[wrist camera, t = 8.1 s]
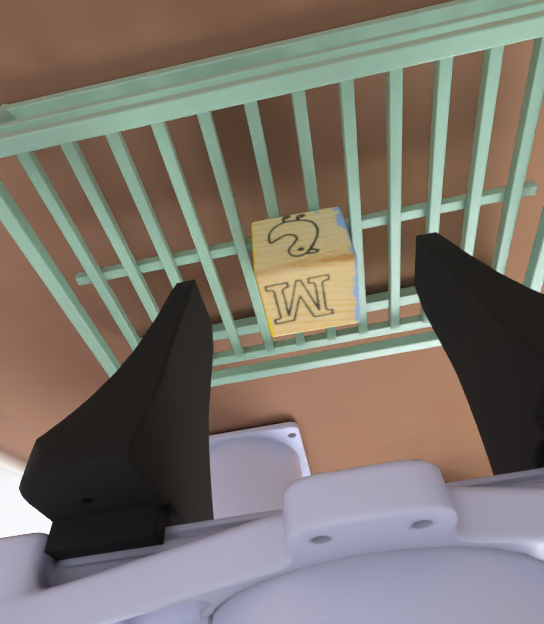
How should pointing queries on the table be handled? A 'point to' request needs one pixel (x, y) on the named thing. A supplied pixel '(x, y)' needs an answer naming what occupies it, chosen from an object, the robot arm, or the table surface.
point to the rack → (248, 90)
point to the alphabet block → (306, 271)
